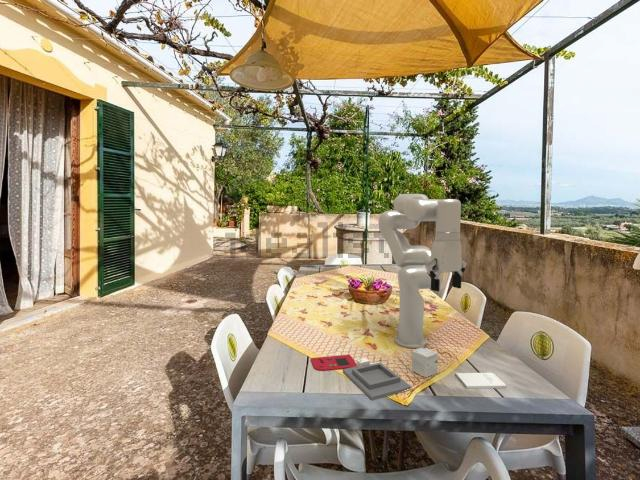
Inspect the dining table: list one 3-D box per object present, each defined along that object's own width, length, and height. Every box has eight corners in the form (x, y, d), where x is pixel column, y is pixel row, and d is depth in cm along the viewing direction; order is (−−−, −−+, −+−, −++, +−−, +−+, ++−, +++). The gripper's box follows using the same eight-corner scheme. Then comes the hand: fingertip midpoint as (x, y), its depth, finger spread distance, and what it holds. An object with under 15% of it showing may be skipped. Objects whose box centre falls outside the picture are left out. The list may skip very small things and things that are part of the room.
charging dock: (342, 372, 114) (342, 362, 114) (378, 364, 120) (378, 354, 120) (372, 400, 98) (372, 388, 98) (411, 389, 104) (411, 378, 103)
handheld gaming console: (310, 357, 124) (350, 353, 127) (310, 360, 124) (350, 357, 127) (315, 369, 115) (358, 365, 118) (315, 373, 115) (358, 369, 118)
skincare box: (426, 378, 110) (426, 356, 110) (411, 371, 115) (411, 350, 114) (437, 373, 114) (438, 352, 113) (422, 366, 119) (423, 345, 118)
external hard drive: (454, 377, 112) (491, 376, 113) (466, 390, 104) (506, 389, 105) (455, 372, 112) (492, 371, 113) (466, 385, 104) (506, 384, 105)
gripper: (457, 235, 118) (455, 284, 120) (419, 237, 111) (417, 289, 112) (475, 237, 112) (473, 288, 113) (436, 239, 104) (434, 294, 105)
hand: (445, 289), depth 113 cm, fingers open, 9 cm apart
